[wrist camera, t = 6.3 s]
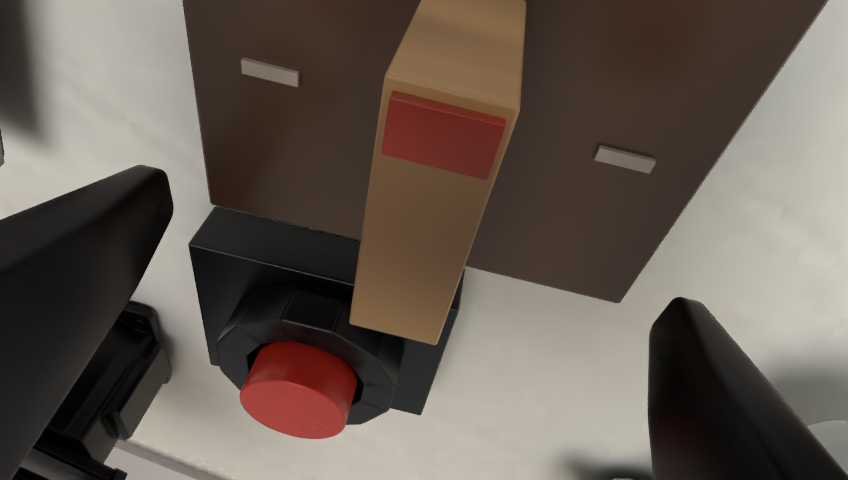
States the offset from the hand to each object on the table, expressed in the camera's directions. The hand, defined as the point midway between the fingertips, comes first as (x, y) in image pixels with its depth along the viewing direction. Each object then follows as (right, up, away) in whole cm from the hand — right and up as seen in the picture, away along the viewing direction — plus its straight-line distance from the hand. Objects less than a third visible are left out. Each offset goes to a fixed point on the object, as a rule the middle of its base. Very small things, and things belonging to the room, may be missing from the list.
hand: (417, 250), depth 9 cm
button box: (-4, -2, +14) cm, 15 cm away
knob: (+1, +3, +4) cm, 5 cm away
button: (-4, -5, +11) cm, 13 cm away
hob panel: (+1, +5, +6) cm, 8 cm away
